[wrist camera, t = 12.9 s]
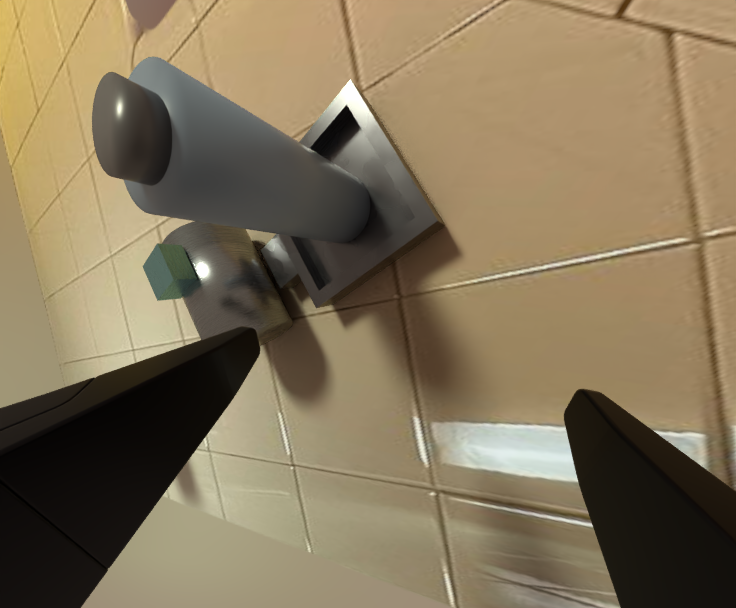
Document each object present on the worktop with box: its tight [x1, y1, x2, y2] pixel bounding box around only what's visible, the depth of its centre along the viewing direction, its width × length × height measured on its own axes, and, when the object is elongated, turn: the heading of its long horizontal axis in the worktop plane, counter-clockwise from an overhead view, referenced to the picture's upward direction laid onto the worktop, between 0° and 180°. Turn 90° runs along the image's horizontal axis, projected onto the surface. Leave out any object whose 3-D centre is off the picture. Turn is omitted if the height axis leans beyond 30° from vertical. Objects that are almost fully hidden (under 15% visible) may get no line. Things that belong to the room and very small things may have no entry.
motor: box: [143, 80, 445, 346], centre depth 19 cm, size 11×21×8 cm, turn 122°
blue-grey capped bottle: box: [92, 57, 370, 243], centre depth 14 cm, size 5×5×13 cm
